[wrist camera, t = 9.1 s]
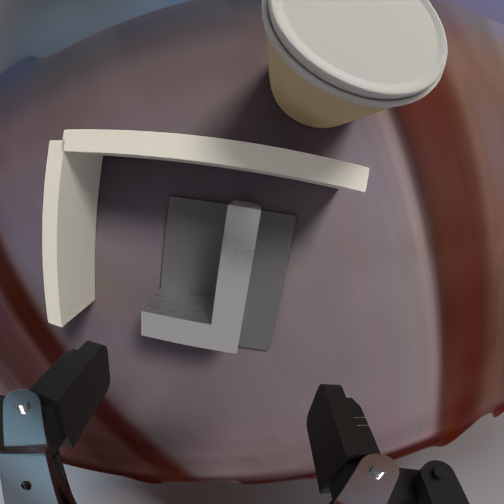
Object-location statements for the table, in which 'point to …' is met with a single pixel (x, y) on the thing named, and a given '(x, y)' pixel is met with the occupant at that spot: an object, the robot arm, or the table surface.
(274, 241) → the mat
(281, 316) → the table surface
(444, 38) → the coffee cup
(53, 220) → the corner wall
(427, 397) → the table surface
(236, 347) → the bracket
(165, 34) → the table surface
